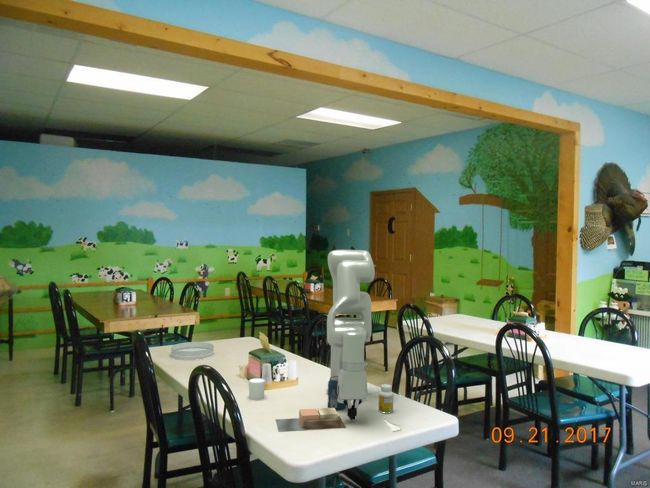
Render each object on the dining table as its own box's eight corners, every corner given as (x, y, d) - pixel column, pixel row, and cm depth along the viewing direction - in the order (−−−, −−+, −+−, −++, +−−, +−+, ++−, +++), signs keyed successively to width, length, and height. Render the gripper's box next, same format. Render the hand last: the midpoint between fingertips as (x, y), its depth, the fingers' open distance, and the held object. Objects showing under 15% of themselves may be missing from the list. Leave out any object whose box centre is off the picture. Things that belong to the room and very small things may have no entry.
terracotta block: (316, 419, 174) (316, 408, 174) (319, 426, 168) (319, 414, 168) (299, 420, 172) (299, 409, 172) (301, 427, 167) (301, 415, 167)
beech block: (334, 419, 175) (334, 407, 175) (337, 425, 169) (338, 413, 169) (317, 419, 174) (317, 408, 174) (320, 426, 168) (320, 414, 168)
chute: (339, 418, 178) (339, 409, 178) (346, 430, 167) (346, 420, 167) (275, 422, 173) (275, 412, 173) (278, 434, 163) (278, 424, 163)
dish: (201, 348, 280) (201, 340, 280) (221, 356, 264) (221, 347, 264) (163, 354, 265) (163, 345, 265) (183, 363, 249) (183, 353, 249)
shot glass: (262, 401, 195) (262, 383, 195) (245, 399, 196) (245, 382, 196) (267, 395, 202) (267, 378, 201) (251, 394, 203) (251, 377, 203)
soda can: (343, 406, 191) (344, 375, 191) (347, 412, 184) (348, 380, 184) (326, 407, 190) (326, 376, 189) (329, 413, 183) (330, 381, 183)
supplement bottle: (377, 408, 189) (377, 383, 189) (391, 408, 189) (391, 383, 189) (379, 414, 184) (380, 387, 183) (394, 413, 184) (394, 387, 184)
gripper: (370, 362, 178) (369, 413, 178) (329, 364, 175) (328, 415, 175) (376, 368, 170) (375, 421, 171) (334, 369, 167) (333, 423, 168)
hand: (351, 418), depth 173 cm, fingers closed
